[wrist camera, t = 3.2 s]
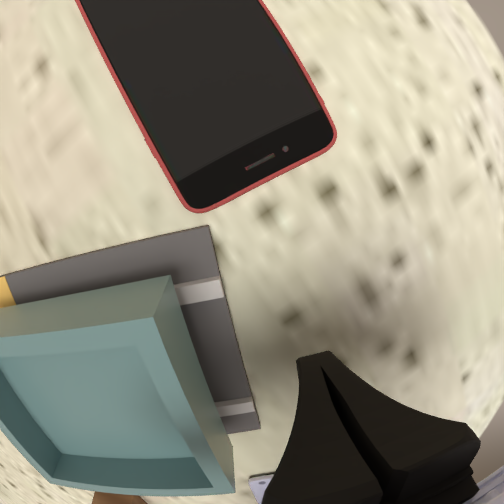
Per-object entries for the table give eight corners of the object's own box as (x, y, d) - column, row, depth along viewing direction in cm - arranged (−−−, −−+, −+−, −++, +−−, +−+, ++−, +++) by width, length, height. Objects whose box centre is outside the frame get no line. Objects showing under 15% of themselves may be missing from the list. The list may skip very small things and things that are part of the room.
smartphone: (196, -84, 7) (346, 143, 12) (196, -78, 8) (341, 143, 12) (64, -19, 8) (190, 223, 12) (69, -15, 8) (192, 220, 13)
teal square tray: (174, 264, 12) (153, 317, 8) (232, 433, 15) (235, 492, 11) (-13, 303, 11) (-56, 341, 8) (68, 438, 15) (50, 483, 11)
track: (208, 224, 12) (207, 228, 12) (260, 425, 16) (261, 433, 15) (-82, 301, 12) (-87, 305, 11) (-13, 423, 16) (-16, 428, 15)
